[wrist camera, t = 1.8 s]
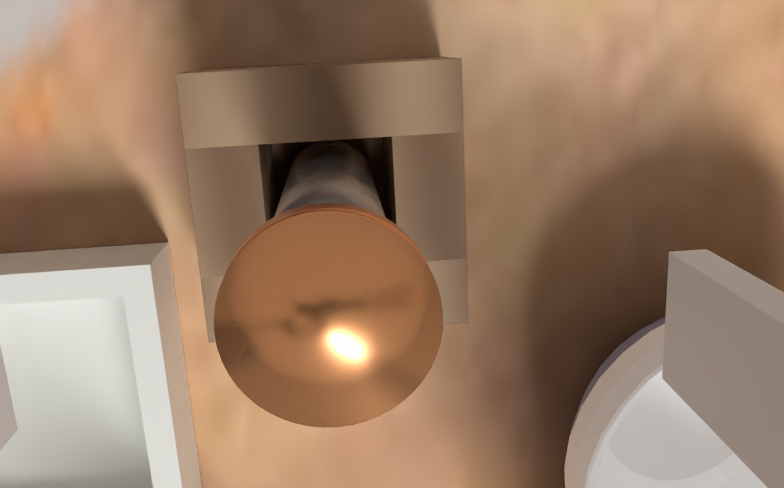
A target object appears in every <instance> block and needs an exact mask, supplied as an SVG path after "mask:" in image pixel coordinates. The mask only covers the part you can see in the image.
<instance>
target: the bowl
mask: <svg viewBox="0 0 784 488" xmlns="http://www.w3.org/2000/svg"><path fill="white" fill-rule="evenodd" d="M664 335H665V317H664V318H661V319H659V320H658V321H656V322H654V323H652V324H650V325H648V326H646V327H644V328H642V329H640V330H639V331H637V332H636V333H635V334H633V335H632V336H631V337H630V338H628V339H627V340H626V341H624V342H623V343H622V344H620V345H619V346H618V347H617V348H616V349H615V350H614V351H613V352H612V354H611V355H610V356H609V357H608V358H607V359H606V360H605V361H604V362H603V363H602V364H601V366H600V367H599V369H598V370H597V372H596V374H595V375H594V377H593V378H592V380H591V382H590V383H589V385H588V386H587V388H586V391H585V394H584V396H583V398H582V400H581V403H580V405H579V408H578V411H577V413H576V416H575V418H574V421H573V423H572V429H571V434H570V437H569V442H568V448H567V454H566V460H565V466H564V473H565V488H767V487H766V485H765V484H764V483H763V482H762V481H761V480H760V479H759V478H758V477H757V476H756V475H755V474H754V473H753V472H752V471H751V470H750V469H749V468H748V467H747V466H746V465H745V464H744V463H743V462H742V461H741V460H740V459H739V458H738V456H737V455H736V454H735V453H734V452H733V451H732V450H731V449H730V448H729V447H728V446H727V445H726V444H725V443H724V442H723V441H722V440H721V439H720V438H719V437H718V436H717V435H716V434H715V433H714V432H713V431H712V430H711V429H710V427H709V426H708V425H707V424H706V423H705V422H704V421H703V420H702V419H701V418H700V417H699V416H698V415H697V414H696V413H695V412H694V411H693V410H692V409H691V408H690V407H689V406H688V405H687V404H686V403H685V402H684V401H683V400H682V398H681V397H680V396H679V395H678V394H677V393H676V392H675V391H674V390H673V389H672V388H671V387H670V386H669V385H668V384H667V383H666V382H665V381H664V380H663V379H662V373H663V354H664Z"/></svg>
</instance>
